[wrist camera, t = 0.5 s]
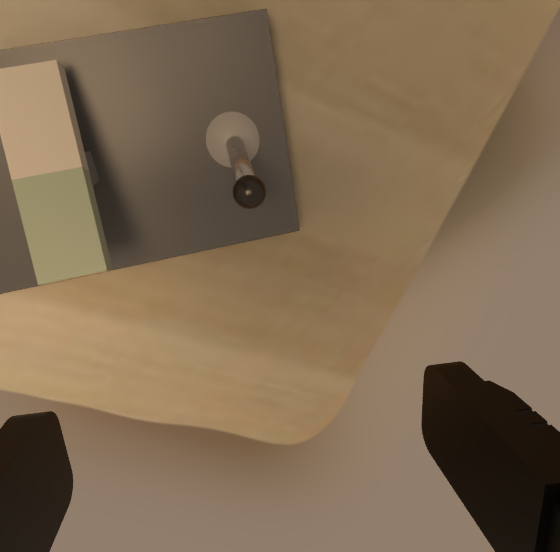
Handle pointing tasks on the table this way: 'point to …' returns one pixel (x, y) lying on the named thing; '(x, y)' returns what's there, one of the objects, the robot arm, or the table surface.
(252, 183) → the lever
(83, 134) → the panel
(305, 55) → the table surface
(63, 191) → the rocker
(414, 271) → the table surface
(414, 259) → the table surface
